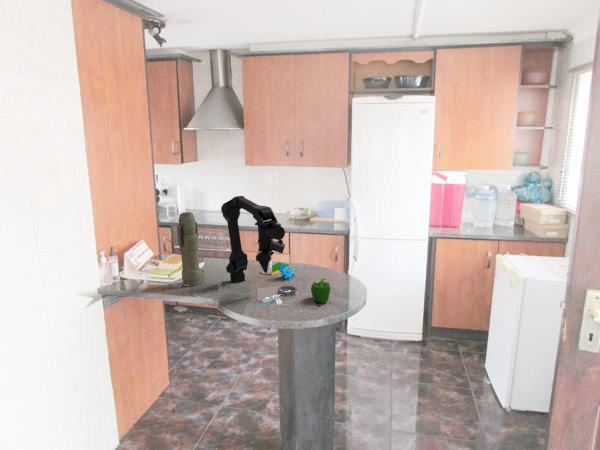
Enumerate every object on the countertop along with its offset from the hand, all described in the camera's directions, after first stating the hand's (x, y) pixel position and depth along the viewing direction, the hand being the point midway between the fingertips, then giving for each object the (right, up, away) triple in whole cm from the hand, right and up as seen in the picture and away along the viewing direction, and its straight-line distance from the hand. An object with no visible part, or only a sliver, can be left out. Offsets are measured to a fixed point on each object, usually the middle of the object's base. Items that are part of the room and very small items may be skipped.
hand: (266, 270), depth 187 cm
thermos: (-38, -9, +21) cm, 44 cm away
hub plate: (+5, -11, +3) cm, 12 cm away
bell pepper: (+24, -13, -5) cm, 28 cm away
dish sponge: (+2, -4, +37) cm, 38 cm away
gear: (+9, -7, +23) cm, 25 cm away
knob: (0, -1, 0) cm, 1 cm away
